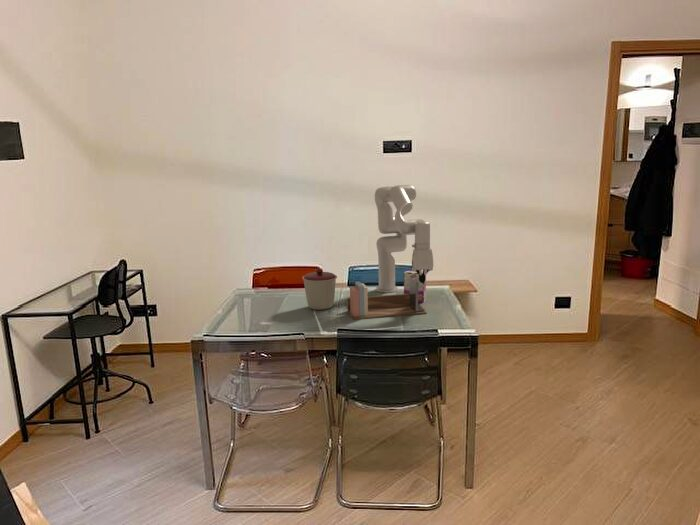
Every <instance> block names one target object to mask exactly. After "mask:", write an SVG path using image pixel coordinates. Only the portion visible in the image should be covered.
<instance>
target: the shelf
mask: <svg viewBox="0 0 700 525" xmlns="http://www.w3.org/2000/svg"><path fill="white" fill-rule="evenodd" d="M346 300H347V313H348V314H349V316H350V317H351V318H352V319H353V320H354V321H355V320H364V319H375V318H376V319H378V318H390V317H404V316H414V315H415V316H416V315H427V311H426V310H425V311H417V312H416V311H415V310H413V309H412V308H411V307H410V294H404V293H402V294H401V293H400V294H389V295H388V294H386V295H373V296H368V316H357V317H354V316H353V314H352V313H351V309H350V297H347V299H346Z"/></svg>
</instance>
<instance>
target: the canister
mask: <svg viewBox="0 0 700 525" xmlns="http://www.w3.org/2000/svg"><path fill="white" fill-rule="evenodd" d="M337 278H338V276H337V275H336V274H335V273H333V272H329V271H324V270H323V268H321V267H319V268H316V270H315V271H313V272H308V273H306V274H305V275H303V276H302V280H303V285H304V290H305V298H306V304H307V306H308V308H309V309H312V310H316V311H317V310H318V311H321V310H322V311H323V310H328V309H331V308H332V307H333V306H334V303H335V294H336V282H337Z"/></svg>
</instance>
